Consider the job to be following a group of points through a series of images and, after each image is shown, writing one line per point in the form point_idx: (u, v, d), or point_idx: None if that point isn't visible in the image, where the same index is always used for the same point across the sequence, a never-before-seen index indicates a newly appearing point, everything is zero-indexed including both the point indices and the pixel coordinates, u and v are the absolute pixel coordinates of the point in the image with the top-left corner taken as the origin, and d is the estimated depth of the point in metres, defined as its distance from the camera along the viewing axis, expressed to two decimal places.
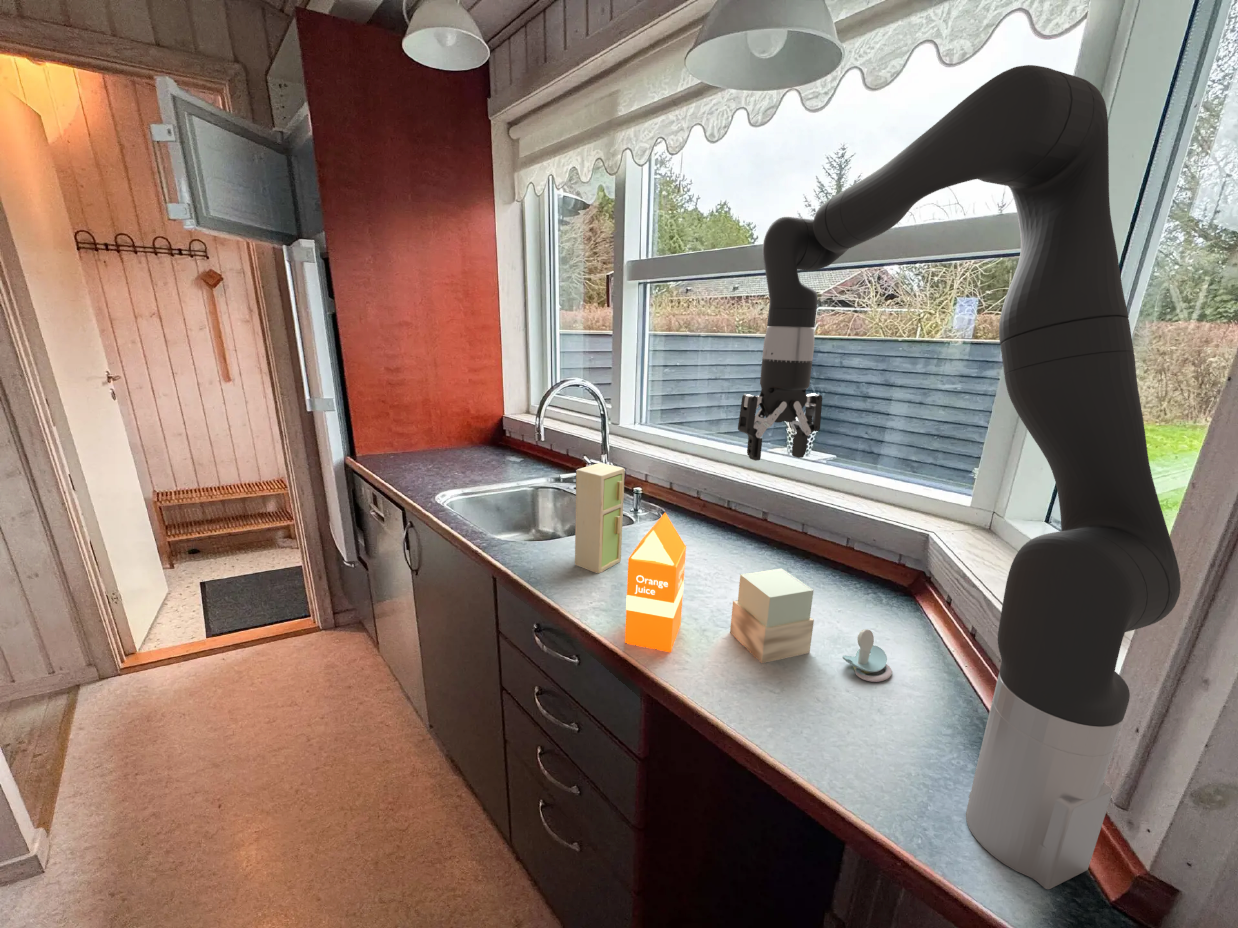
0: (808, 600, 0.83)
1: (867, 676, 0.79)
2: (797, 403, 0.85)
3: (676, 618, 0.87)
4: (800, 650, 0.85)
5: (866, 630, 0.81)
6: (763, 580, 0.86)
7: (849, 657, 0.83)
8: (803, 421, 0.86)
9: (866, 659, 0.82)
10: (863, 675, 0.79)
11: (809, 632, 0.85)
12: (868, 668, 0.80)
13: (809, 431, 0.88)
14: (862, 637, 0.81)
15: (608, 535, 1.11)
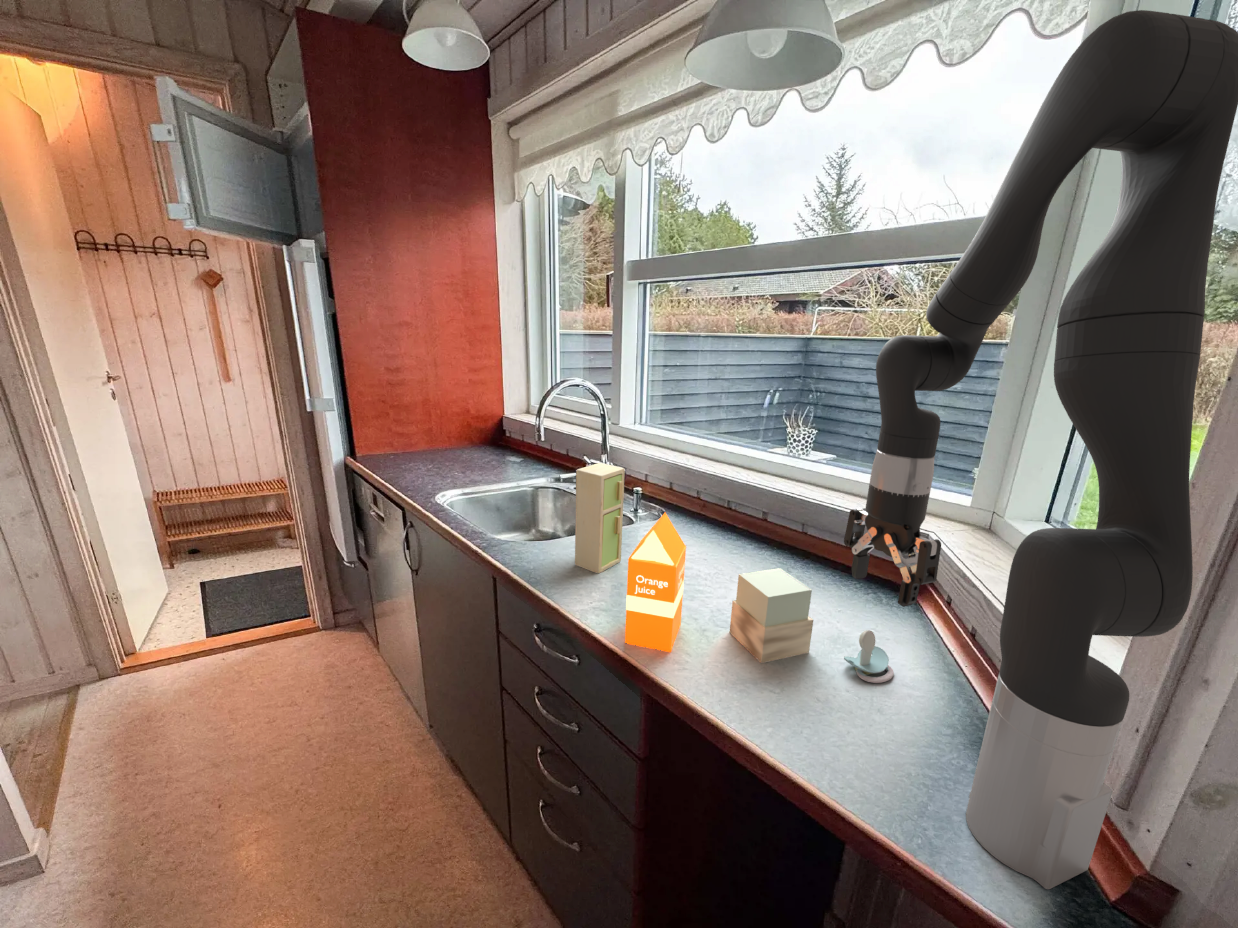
0: (806, 599, 0.83)
1: (869, 677, 0.79)
2: None
3: (676, 618, 0.87)
4: (800, 650, 0.85)
5: (868, 631, 0.81)
6: (761, 579, 0.86)
7: (851, 658, 0.83)
8: None
9: (868, 660, 0.82)
10: (865, 676, 0.79)
11: (808, 632, 0.85)
12: (870, 669, 0.80)
13: None
14: (864, 638, 0.81)
15: (608, 535, 1.11)
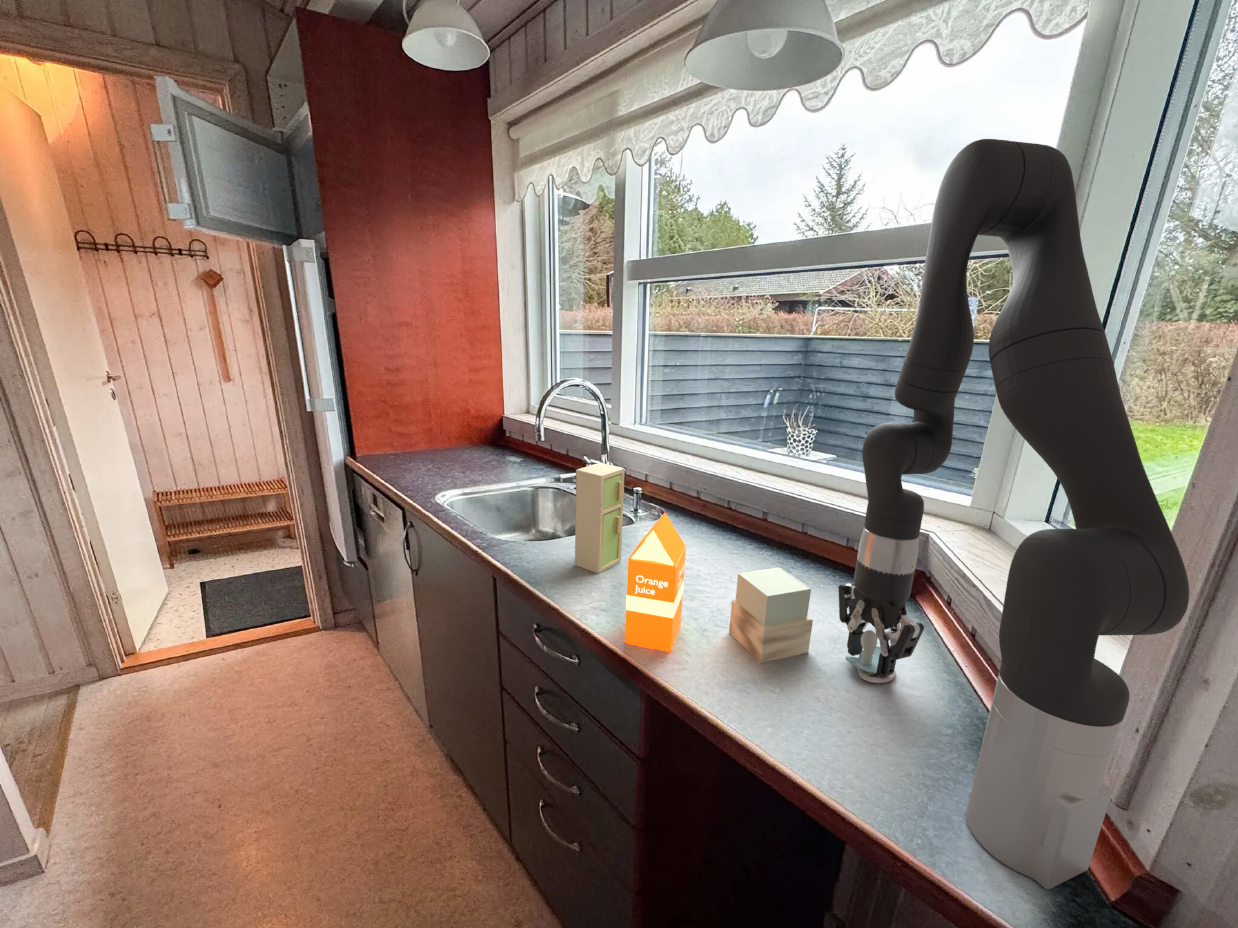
0: (805, 598, 0.84)
1: (870, 677, 0.79)
2: None
3: (676, 618, 0.87)
4: (799, 650, 0.85)
5: (869, 631, 0.81)
6: (760, 579, 0.86)
7: (852, 658, 0.83)
8: None
9: (869, 660, 0.81)
10: (866, 676, 0.79)
11: (807, 632, 0.85)
12: (871, 669, 0.80)
13: None
14: (865, 638, 0.80)
15: (608, 535, 1.11)
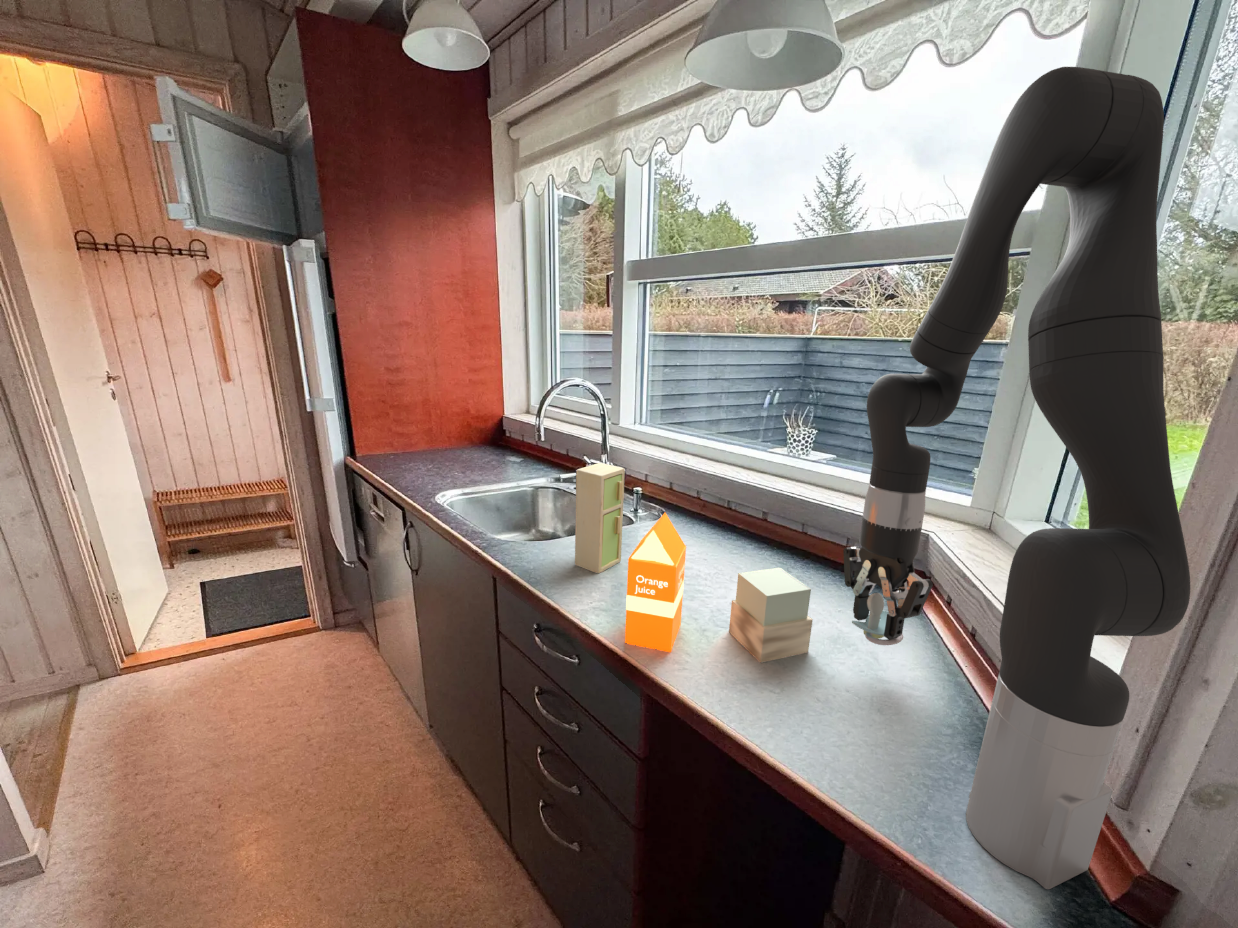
0: (805, 598, 0.84)
1: (878, 640, 0.77)
2: None
3: (676, 618, 0.87)
4: (799, 650, 0.85)
5: (876, 593, 0.79)
6: (761, 578, 0.86)
7: (859, 622, 0.80)
8: None
9: (876, 624, 0.79)
10: (874, 639, 0.77)
11: (807, 631, 0.85)
12: (879, 632, 0.78)
13: None
14: (872, 600, 0.78)
15: (608, 535, 1.11)
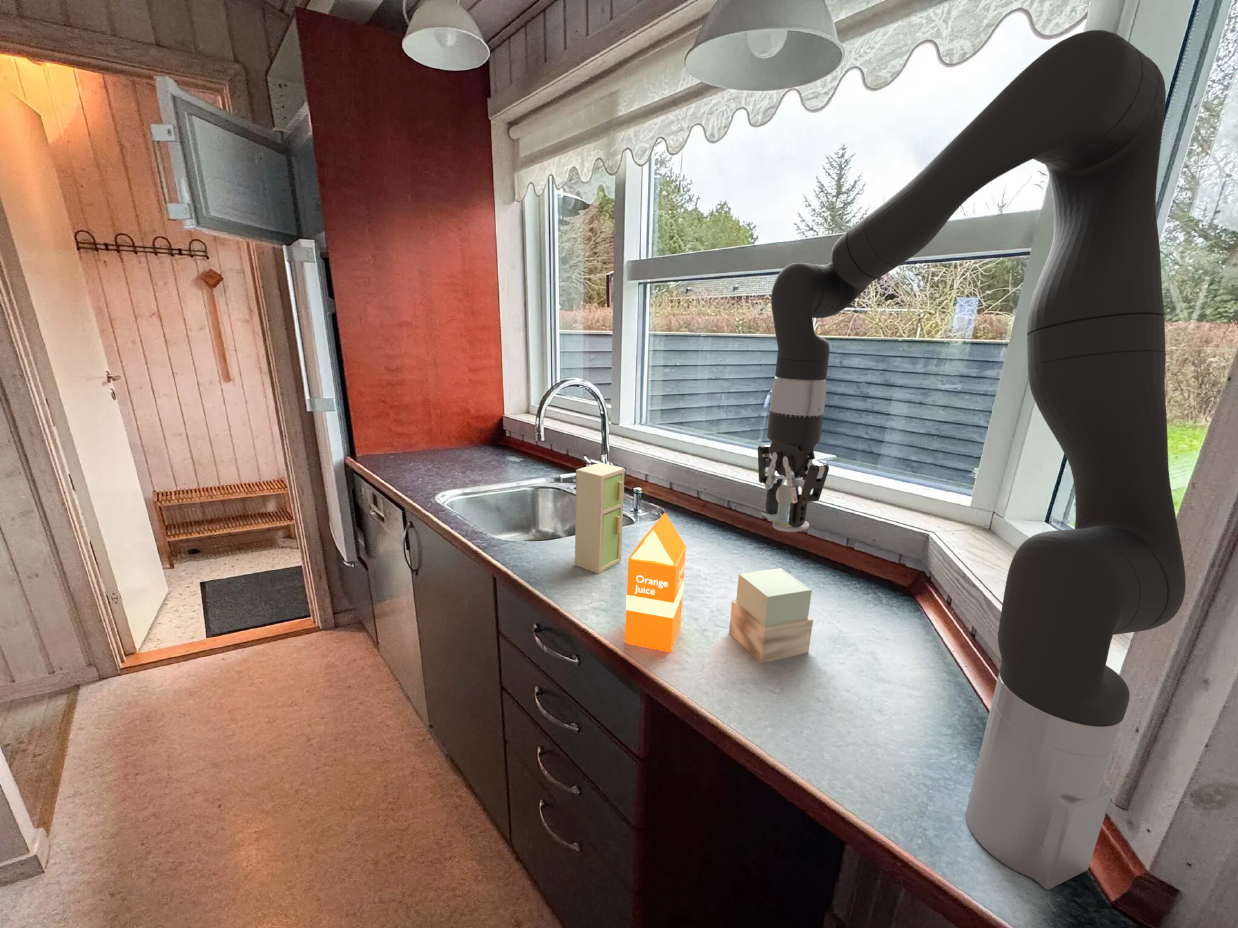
0: (806, 599, 0.83)
1: (783, 527, 0.80)
2: None
3: (676, 618, 0.87)
4: (799, 650, 0.85)
5: (784, 485, 0.82)
6: (761, 579, 0.86)
7: (769, 515, 0.84)
8: None
9: (785, 515, 0.83)
10: (779, 526, 0.80)
11: (808, 632, 0.85)
12: None
13: None
14: (779, 491, 0.82)
15: (608, 535, 1.11)
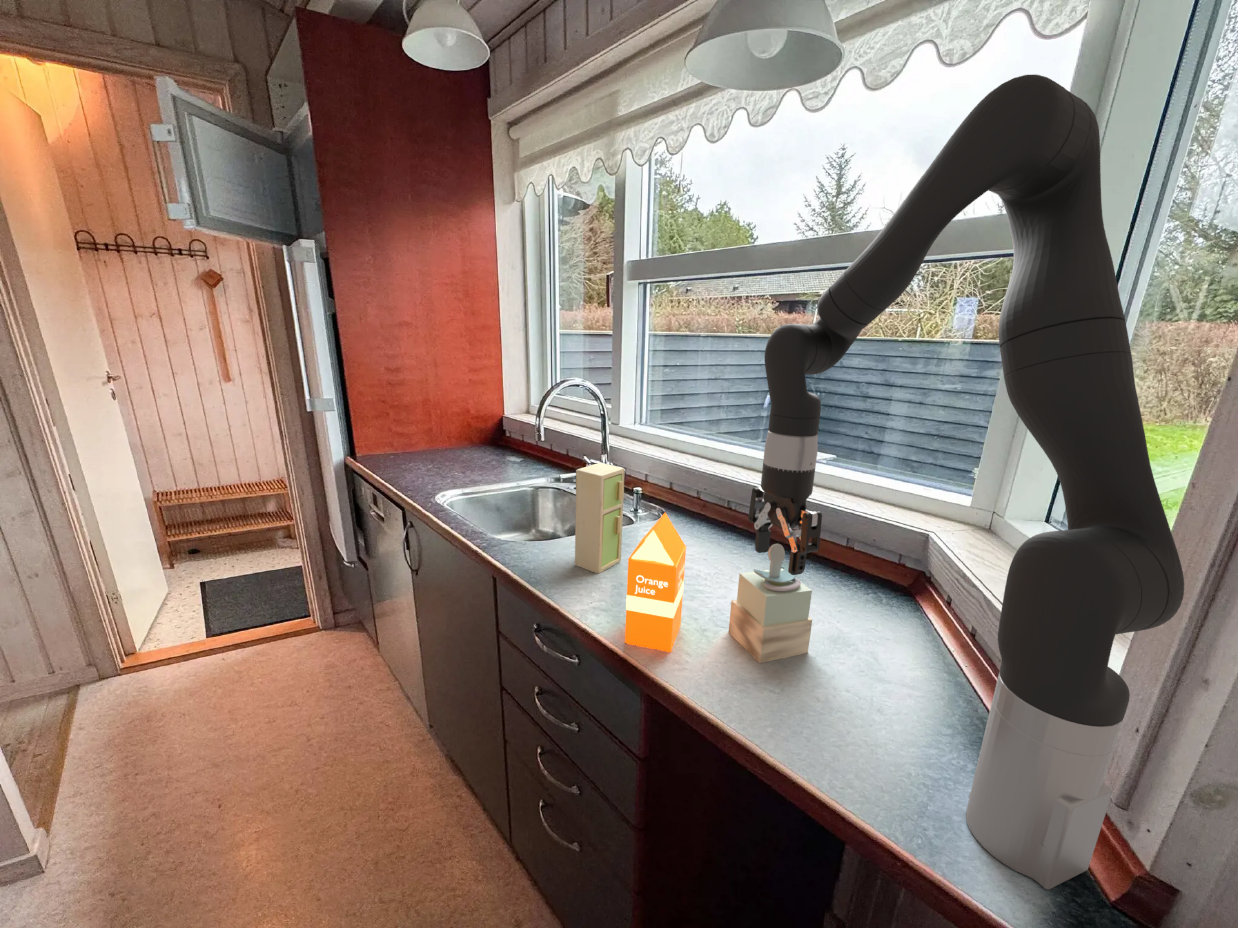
0: (806, 600, 0.83)
1: (773, 586, 0.82)
2: None
3: (676, 618, 0.87)
4: (798, 650, 0.85)
5: (776, 544, 0.84)
6: (762, 579, 0.86)
7: (761, 572, 0.86)
8: None
9: (776, 573, 0.85)
10: (770, 585, 0.82)
11: (807, 632, 0.85)
12: (776, 580, 0.83)
13: None
14: (771, 550, 0.84)
15: (608, 535, 1.11)
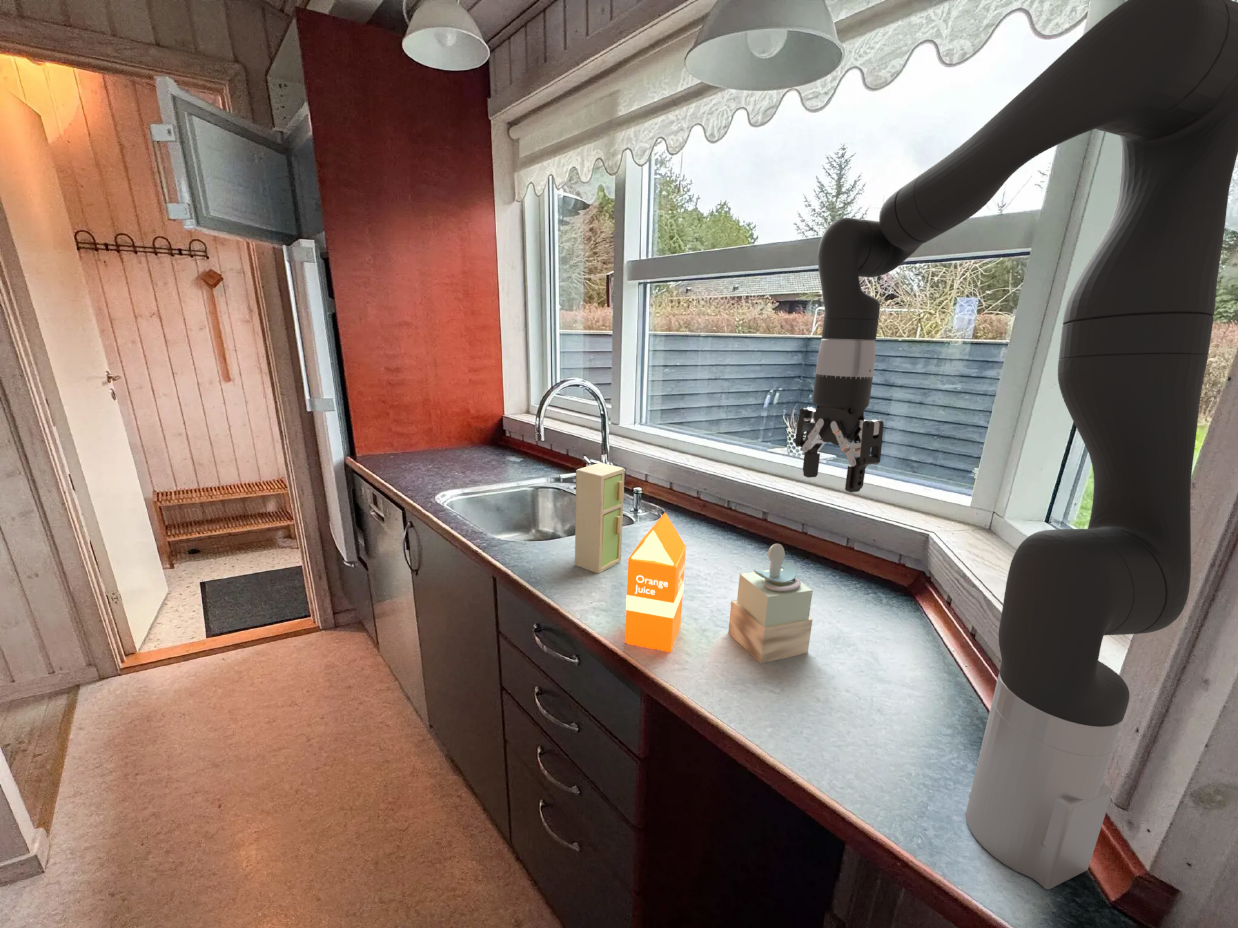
0: (807, 600, 0.83)
1: (774, 586, 0.82)
2: None
3: (676, 618, 0.87)
4: (799, 650, 0.85)
5: (776, 544, 0.84)
6: (762, 579, 0.86)
7: (761, 572, 0.86)
8: None
9: (777, 573, 0.85)
10: (771, 585, 0.82)
11: (807, 632, 0.85)
12: (777, 580, 0.83)
13: None
14: (772, 550, 0.84)
15: (608, 535, 1.11)
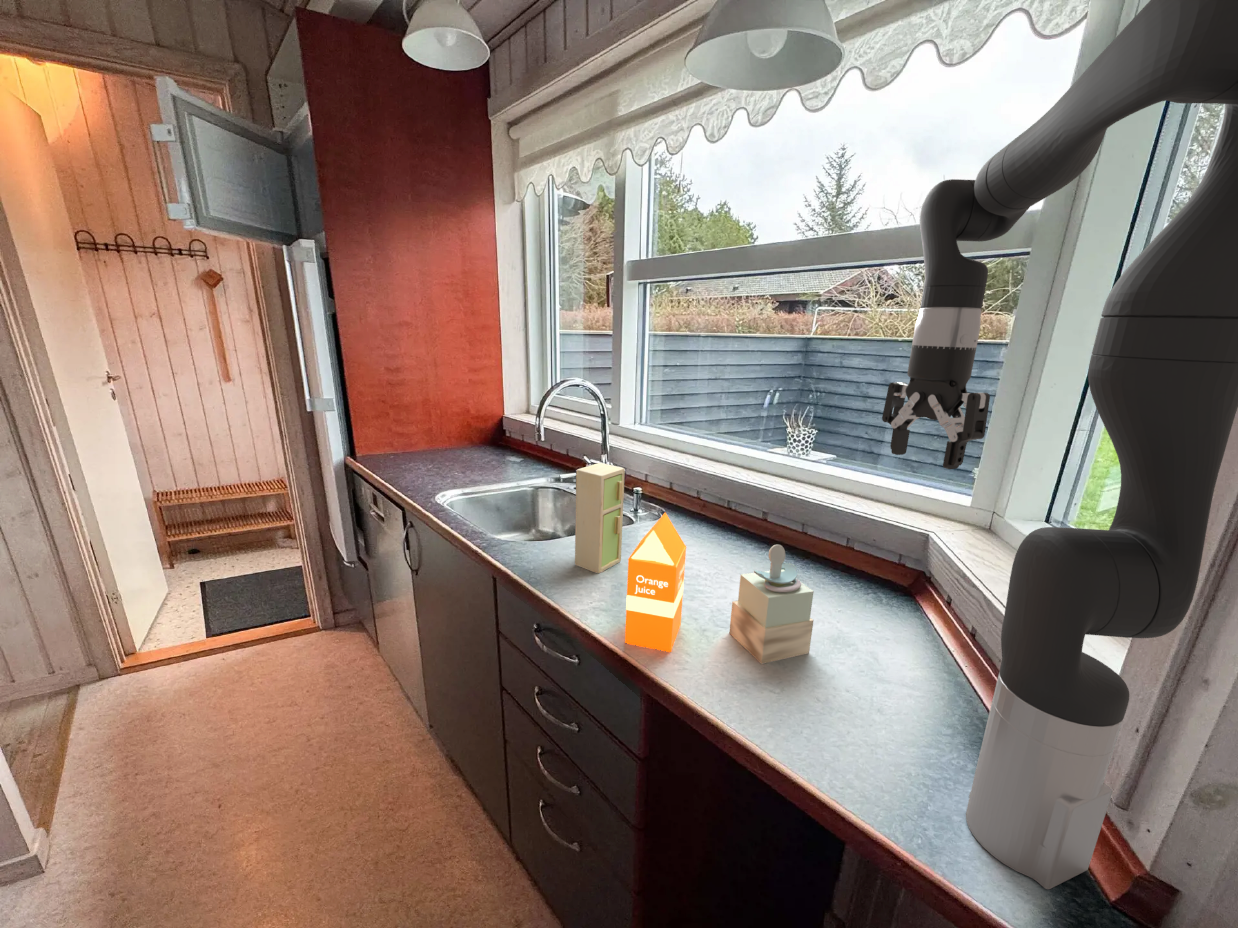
0: (808, 601, 0.83)
1: (774, 587, 0.82)
2: None
3: (676, 618, 0.87)
4: (800, 650, 0.85)
5: (777, 545, 0.84)
6: (763, 580, 0.86)
7: (762, 572, 0.86)
8: None
9: (777, 573, 0.85)
10: (770, 586, 0.82)
11: (808, 632, 0.85)
12: (777, 581, 0.83)
13: None
14: (772, 551, 0.84)
15: (608, 535, 1.11)
